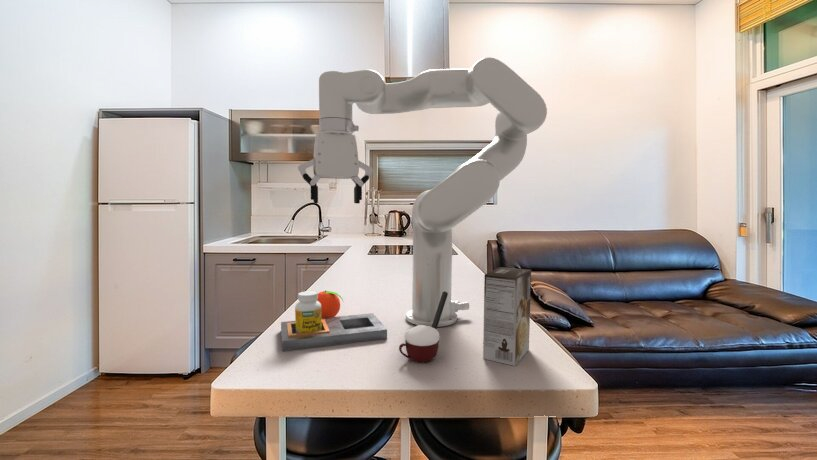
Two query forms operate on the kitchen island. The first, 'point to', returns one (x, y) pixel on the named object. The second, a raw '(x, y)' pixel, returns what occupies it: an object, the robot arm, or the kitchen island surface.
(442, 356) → the kitchen island surface
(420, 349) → the cocoa
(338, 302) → the clementine
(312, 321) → the supplement bottle
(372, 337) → the two-pocket grey tray
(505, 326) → the coffee box
